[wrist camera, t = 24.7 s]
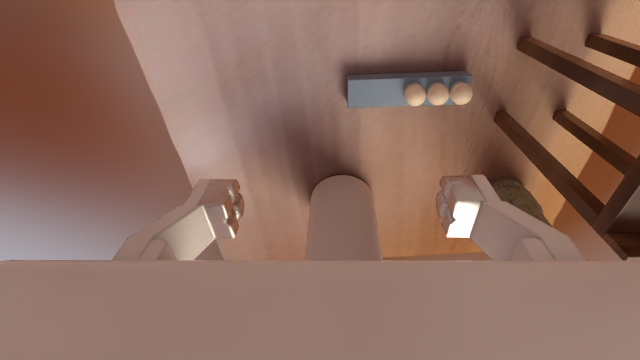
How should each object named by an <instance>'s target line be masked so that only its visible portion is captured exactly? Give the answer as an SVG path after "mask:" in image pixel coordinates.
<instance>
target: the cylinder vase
mask: <svg viewBox="0 0 640 360" xmlns="http://www.w3.org/2000/svg"><path fill="white" fill-rule="evenodd" d="M305 261H383V258H382V251H381V245H380V238H379V232H378V225H377V219H376V212H375V206H374V199H373V194H372V191H371V189H370V188H369V186H368V185H367V184H366V183H365V182H363V181H362V180H360V179H358V178H356V177H353V176H348V175H336V176H332V177H329V178H326V179H324V180H323V181H321V182H320V183H319V184H318V185H317V186H316V187H315V188H314V190H313V192H312V195H311V203H310V214H309V224H308V234H307V245H306V255H305Z"/></svg>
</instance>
